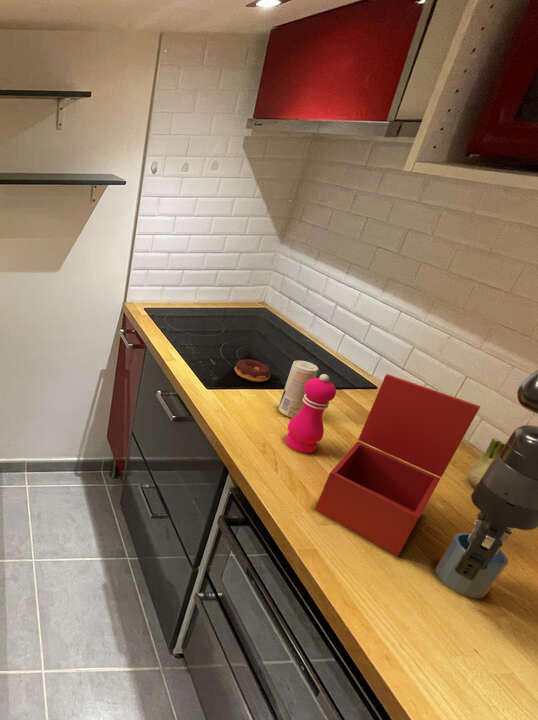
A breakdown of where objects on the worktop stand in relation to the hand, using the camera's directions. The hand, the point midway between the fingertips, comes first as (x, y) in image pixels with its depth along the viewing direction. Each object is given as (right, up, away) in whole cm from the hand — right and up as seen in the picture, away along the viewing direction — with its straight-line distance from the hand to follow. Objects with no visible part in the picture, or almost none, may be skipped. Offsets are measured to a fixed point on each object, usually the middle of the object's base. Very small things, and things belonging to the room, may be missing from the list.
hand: (468, 561), depth 75 cm
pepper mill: (-6, +10, +34) cm, 36 cm away
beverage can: (-1, +16, +46) cm, 48 cm away
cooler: (-5, +2, +15) cm, 16 cm away
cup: (0, -4, +2) cm, 5 cm away
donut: (-2, +24, +63) cm, 67 cm away
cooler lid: (+1, +20, +11) cm, 23 cm away
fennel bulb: (+25, +4, +21) cm, 33 cm away
